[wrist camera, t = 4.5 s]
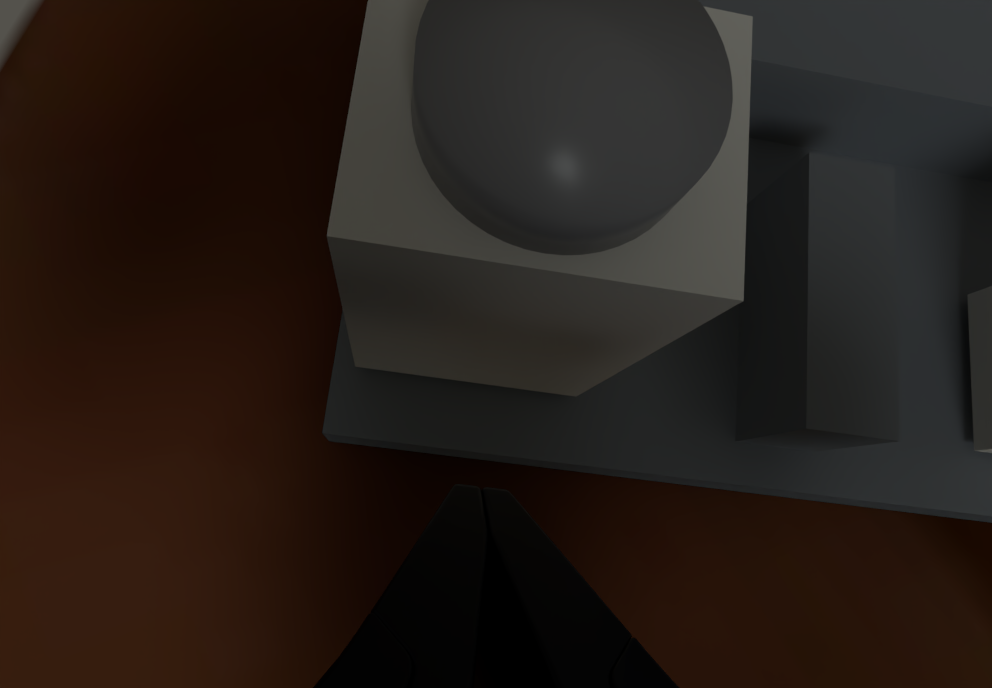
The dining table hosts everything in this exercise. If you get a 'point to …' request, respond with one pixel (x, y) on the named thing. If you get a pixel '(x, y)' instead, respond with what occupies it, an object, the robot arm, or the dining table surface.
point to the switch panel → (790, 292)
